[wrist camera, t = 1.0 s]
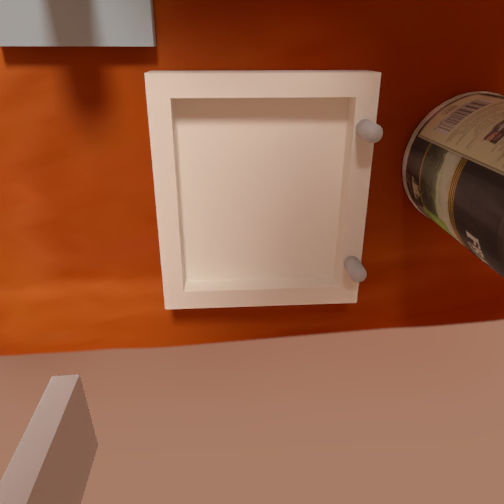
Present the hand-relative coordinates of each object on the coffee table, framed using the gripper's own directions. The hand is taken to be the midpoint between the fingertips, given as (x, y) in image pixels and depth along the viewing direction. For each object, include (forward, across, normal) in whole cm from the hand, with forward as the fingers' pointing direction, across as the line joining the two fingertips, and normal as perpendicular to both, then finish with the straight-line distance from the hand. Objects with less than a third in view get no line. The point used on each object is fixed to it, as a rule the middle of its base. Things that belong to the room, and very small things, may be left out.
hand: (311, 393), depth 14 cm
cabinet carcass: (+24, 0, -2) cm, 24 cm away
